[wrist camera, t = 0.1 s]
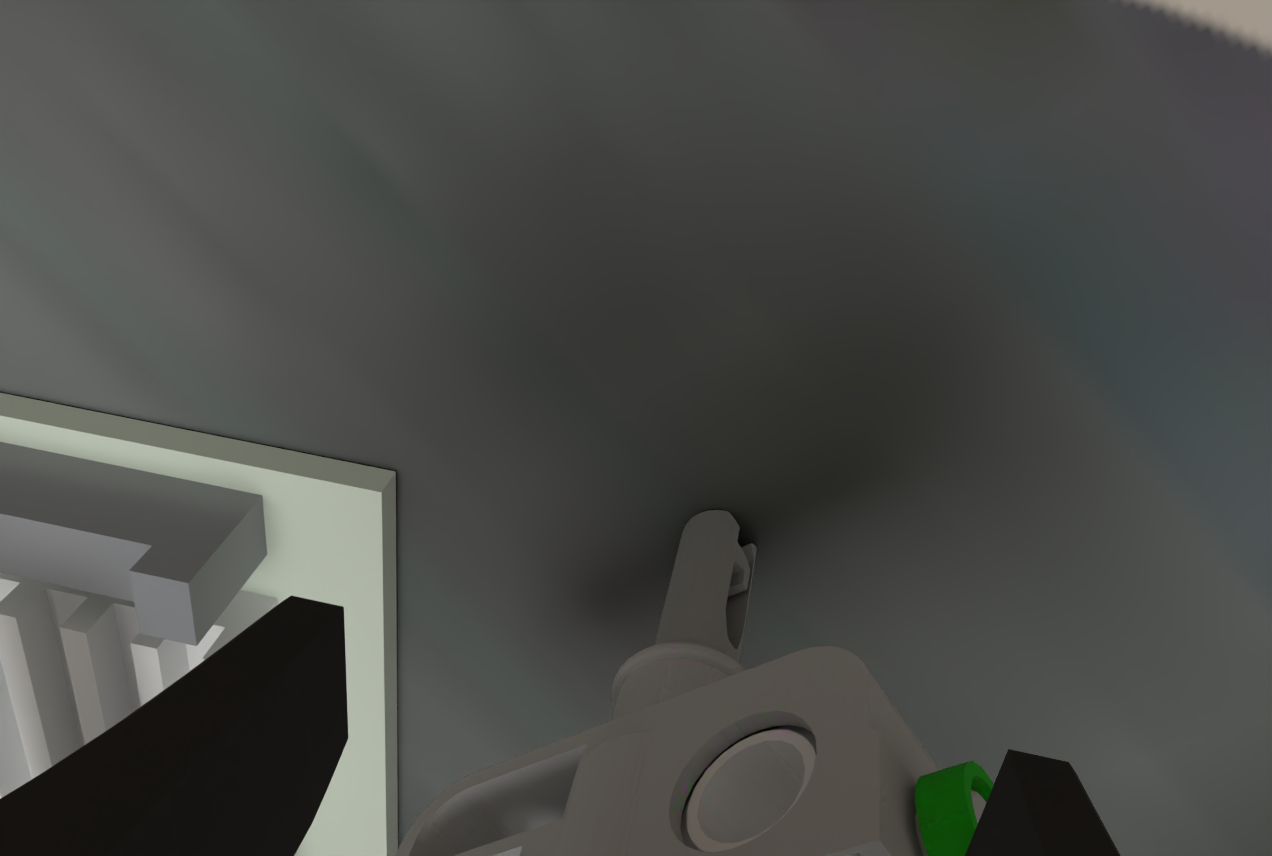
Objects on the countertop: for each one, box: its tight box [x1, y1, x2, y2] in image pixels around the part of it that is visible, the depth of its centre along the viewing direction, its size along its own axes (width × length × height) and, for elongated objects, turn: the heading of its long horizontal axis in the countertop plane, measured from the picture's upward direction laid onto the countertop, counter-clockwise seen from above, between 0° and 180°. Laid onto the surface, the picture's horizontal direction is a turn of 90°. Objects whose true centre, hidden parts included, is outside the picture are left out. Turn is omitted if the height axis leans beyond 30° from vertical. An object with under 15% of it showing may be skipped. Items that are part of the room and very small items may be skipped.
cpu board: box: [0, 393, 398, 856], centre depth 27 cm, size 18×12×4 cm, turn 173°
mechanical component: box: [395, 510, 994, 856], centre depth 19 cm, size 3×10×10 cm, turn 124°
